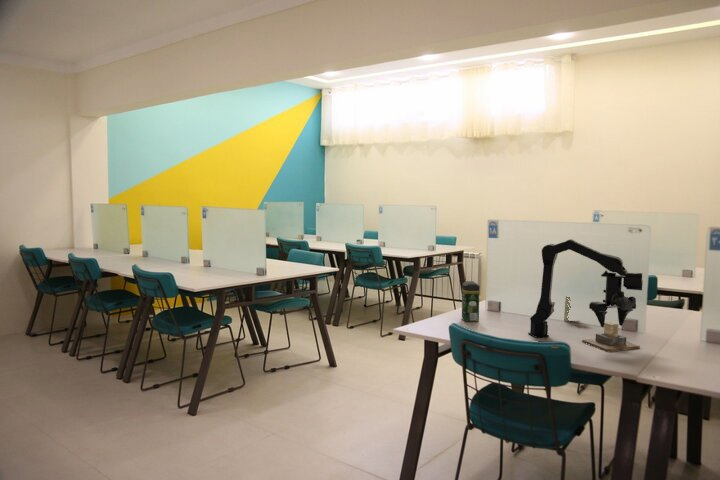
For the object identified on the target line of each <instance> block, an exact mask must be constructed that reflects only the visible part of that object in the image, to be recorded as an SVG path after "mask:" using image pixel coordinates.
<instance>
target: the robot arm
mask: <svg viewBox="0 0 720 480" xmlns="http://www.w3.org/2000/svg"><path fill="white" fill-rule="evenodd" d="M569 250H570V251H572V252H575V253H577V254H579V255H581V256H583V257H585V258H588V259H589V260H592V261H595V262H596V263H598V264H599V265H601V266H602V267H603V268H605V269H606V270H605V271H604V272H603V273H602V274H601V275H600V276H601V277H603V278H605V279H606V280H605V289H602V291H603V292H602V293H605V297H604V298H605V299H602V302H601V301H591V302H590V303H589V305H588V306H589V307H588V309H589V310H591V311H592V312H593V313H594V314H595V316H596V319H597V320H598V323H599V326H600V327H601V328H604V323H606V321H605V320H606V315H607V313H608V311H607V310H608V309H612V308H616V310H617V318H618V320H617V321H618V326H620V327H621V326H623V324H624V322H625V320H626V319H627V315H628V314H629V313H630V312H633V311H634V310H636V309H637V304H636V303H637V300H636V297H635V296H629V297H628V296H625V291H622V286H623V287H624V288H625V289H626V290H631V291H632V290H633V291H643V286H644V285H643V282H644V280H643V272H636V273H635V272H629V271H628V270H627V269H626V268H625V266H624V261H623V259H622V258H620V257H619V256H615V255H612V254H608V253H602V252H600V251H598V250H595V249H593V248H592V247H588V246H587V245H585V244H583V243H579V242H578V241H575V240H574V239H573V238H571V239H567V240H565V241H562V242H559V243H556V244H554V243H548V244H546V245H544V246H543V247H542V248H541V260H542V263H543V268H542V277H541V278H542V280H541V290H540V298H539V301H538V304H537V305H536V310H535V313H534V314H533V315H532V316H531V317H530V318H529V319H530V330H529V332H528V333H527V334H528V335H530V336H532V337H533V338H548V337H550V335H549V332H548V329H549V324H548V321H547V320H548V319H549V318H550V317H551V316H552V314H553V313H554V312H555V308H554V307H555V304H556V302H555V301H553V302H552V289H553V288H552V287H553V276H554V268H555V263H556V261H557V259H558V254H559V253H563V252H566V251H569ZM608 271H609V272H608ZM622 283H623V284H622Z"/></svg>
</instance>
